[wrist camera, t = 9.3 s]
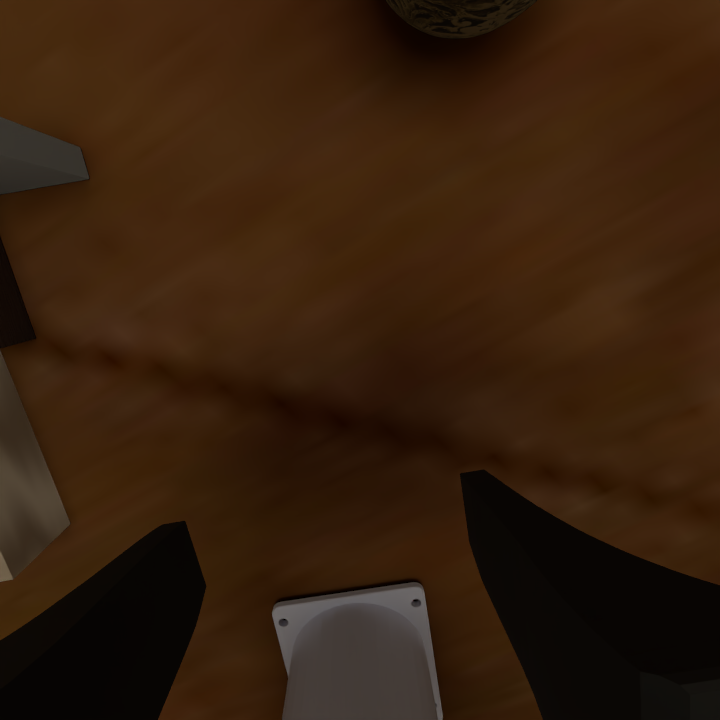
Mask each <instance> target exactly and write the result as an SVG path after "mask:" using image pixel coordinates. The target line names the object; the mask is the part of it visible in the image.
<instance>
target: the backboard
mask: <svg viewBox="0 0 720 720" xmlns="http://www.w3.org/2000/svg"><path fill="white" fill-rule="evenodd" d="M87 179H89V175H88V172H87V169H86V165H85V162H84V159H83V155H82V152H81V149H80V147H78V146H75V145H73V144H70V143H67V142H65V141H62V140H59V139H57V138H54V137H52V136H49V135H46V134H44V133H41V132H38V131H36V130H33V129H30V128H28V127H25V126H23V125H20V124H17V123H15V122H12V121H9V120H7V119H4V118H2V117H0V195H1V194H6V193H12V192H18V191H24V190H29V189H35V188H41V187H47V186H52V185H58V184H64V183H70V182H75V181H81V180H87Z"/></svg>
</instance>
